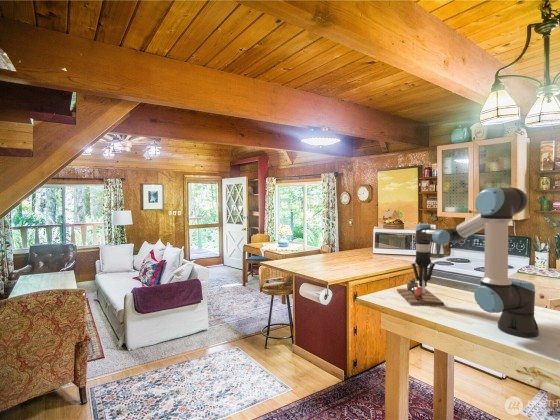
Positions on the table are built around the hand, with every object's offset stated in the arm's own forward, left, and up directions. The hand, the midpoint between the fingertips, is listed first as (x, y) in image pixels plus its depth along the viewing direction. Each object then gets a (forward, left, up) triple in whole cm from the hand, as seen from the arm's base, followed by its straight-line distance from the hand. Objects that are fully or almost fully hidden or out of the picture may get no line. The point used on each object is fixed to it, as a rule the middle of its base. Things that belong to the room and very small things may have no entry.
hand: (422, 292), depth 188 cm
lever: (+8, +1, -4) cm, 9 cm away
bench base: (+8, -1, -6) cm, 10 cm away
